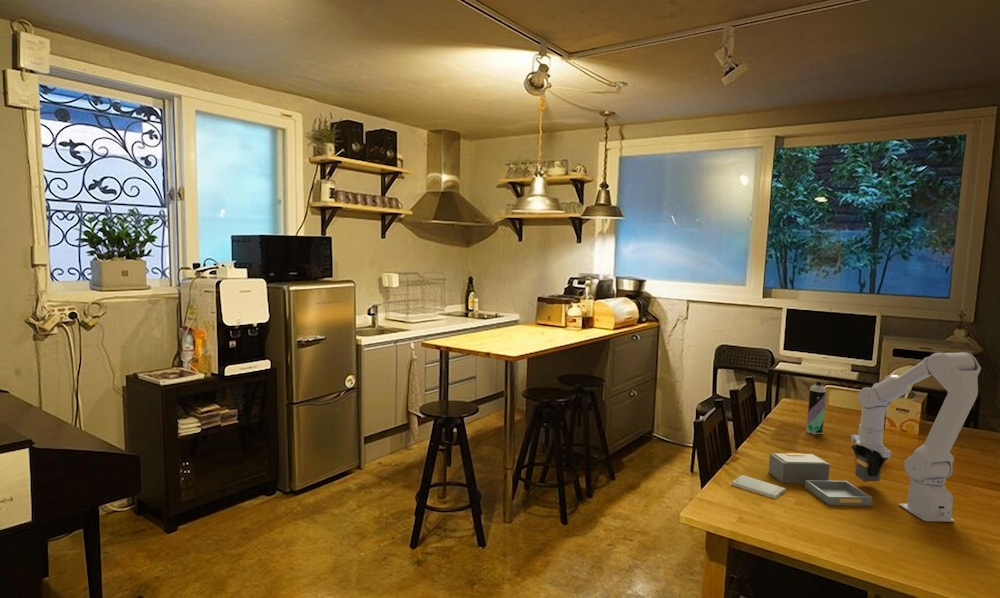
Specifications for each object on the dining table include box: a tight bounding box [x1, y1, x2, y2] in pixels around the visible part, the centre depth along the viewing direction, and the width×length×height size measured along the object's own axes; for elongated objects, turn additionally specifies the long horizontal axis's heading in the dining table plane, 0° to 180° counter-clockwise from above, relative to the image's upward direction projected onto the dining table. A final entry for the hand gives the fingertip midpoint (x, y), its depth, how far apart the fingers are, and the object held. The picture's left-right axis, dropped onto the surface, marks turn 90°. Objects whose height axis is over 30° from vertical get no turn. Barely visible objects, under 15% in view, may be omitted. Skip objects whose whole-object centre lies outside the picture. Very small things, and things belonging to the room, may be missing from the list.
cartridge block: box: [855, 455, 882, 482], centre depth 170 cm, size 4×5×6 cm
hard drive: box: [730, 474, 787, 500], centre depth 166 cm, size 2×8×12 cm
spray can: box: [806, 380, 827, 435], centre depth 220 cm, size 6×6×20 cm
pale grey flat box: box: [768, 452, 831, 484], centre depth 174 cm, size 8×14×6 cm, turn 92°
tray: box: [804, 479, 873, 507], centre depth 162 cm, size 11×12×2 cm
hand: (867, 473), depth 170 cm, fingers closed on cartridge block, 4 cm apart
